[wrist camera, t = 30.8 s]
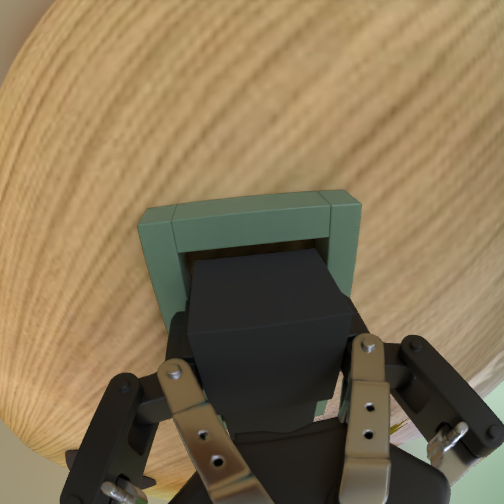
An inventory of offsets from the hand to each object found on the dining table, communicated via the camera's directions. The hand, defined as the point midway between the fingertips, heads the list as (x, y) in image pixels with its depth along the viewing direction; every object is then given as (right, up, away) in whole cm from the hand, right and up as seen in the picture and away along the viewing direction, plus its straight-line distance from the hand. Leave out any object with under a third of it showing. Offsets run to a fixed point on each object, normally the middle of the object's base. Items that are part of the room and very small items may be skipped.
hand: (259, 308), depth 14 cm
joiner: (0, -2, +4) cm, 5 cm away
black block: (0, 0, 0) cm, 0 cm away
